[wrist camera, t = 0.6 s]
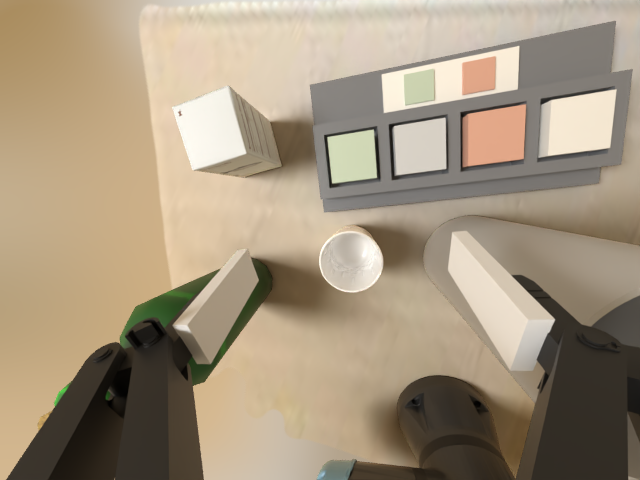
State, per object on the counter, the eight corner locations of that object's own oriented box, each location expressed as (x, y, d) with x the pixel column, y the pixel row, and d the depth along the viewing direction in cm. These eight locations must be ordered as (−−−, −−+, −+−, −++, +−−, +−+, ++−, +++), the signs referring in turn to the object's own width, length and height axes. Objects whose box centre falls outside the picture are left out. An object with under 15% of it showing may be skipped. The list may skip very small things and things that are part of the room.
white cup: (361, 212, 36) (362, 219, 27) (385, 253, 37) (395, 275, 27) (320, 236, 38) (307, 250, 29) (343, 275, 39) (339, 302, 29)
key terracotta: (514, 160, 28) (523, 159, 27) (462, 167, 30) (468, 166, 28) (516, 109, 27) (526, 104, 26) (462, 118, 28) (468, 113, 27)
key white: (595, 150, 27) (610, 147, 25) (537, 157, 28) (548, 155, 26) (601, 95, 26) (616, 89, 24) (540, 105, 27) (551, 100, 25)
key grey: (441, 170, 30) (446, 168, 28) (394, 176, 31) (396, 175, 30) (441, 121, 29) (445, 117, 27) (392, 129, 30) (394, 126, 28)
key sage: (376, 178, 32) (377, 177, 30) (333, 183, 33) (332, 183, 31) (372, 132, 30) (373, 129, 29) (328, 139, 32) (327, 137, 30)
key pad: (583, 184, 31) (620, 182, 27) (325, 211, 37) (321, 213, 33) (597, 32, 28) (641, 3, 23) (312, 91, 34) (306, 76, 30)
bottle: (218, 255, 42) (-33, 367, 15) (271, 247, 40) (92, 359, 13) (232, 308, 44) (31, 493, 17) (284, 303, 42) (150, 504, 15)
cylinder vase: (420, 292, 37) (536, 474, 13) (422, 217, 35) (567, 269, 11) (506, 293, 35) (830, 511, 11) (513, 212, 33) (948, 266, 9)
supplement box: (243, 178, 38) (189, 172, 26) (230, 133, 37) (168, 104, 25) (283, 167, 37) (247, 154, 25) (271, 120, 36) (227, 82, 24)
